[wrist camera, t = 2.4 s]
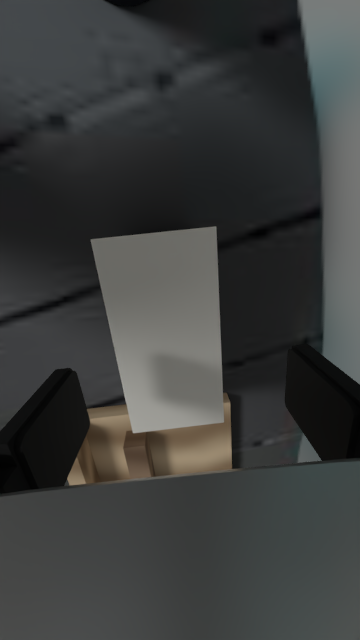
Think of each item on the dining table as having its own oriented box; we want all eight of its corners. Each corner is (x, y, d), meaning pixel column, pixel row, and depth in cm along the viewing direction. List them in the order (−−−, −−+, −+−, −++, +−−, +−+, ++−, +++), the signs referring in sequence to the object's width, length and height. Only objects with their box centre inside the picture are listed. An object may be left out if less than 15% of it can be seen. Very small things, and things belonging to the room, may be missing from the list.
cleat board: (71, 410, 24) (53, 443, 20) (226, 392, 24) (237, 421, 20) (107, 521, 30) (99, 562, 26) (230, 506, 30) (239, 544, 27)
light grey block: (120, 237, 18) (90, 239, 11) (196, 229, 19) (216, 226, 11) (145, 378, 23) (135, 447, 16) (205, 371, 23) (224, 436, 16)
